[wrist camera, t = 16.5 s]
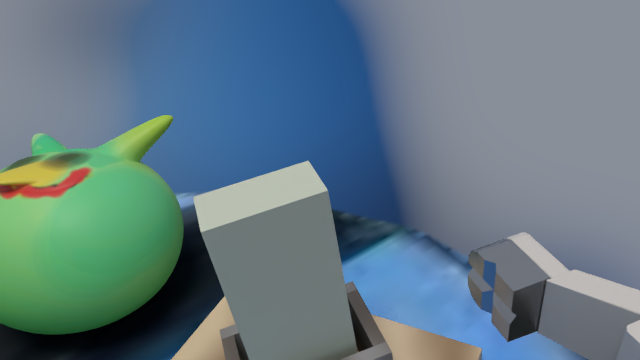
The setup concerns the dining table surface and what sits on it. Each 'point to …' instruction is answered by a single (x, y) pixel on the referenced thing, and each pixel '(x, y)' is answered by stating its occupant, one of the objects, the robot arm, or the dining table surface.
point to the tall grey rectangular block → (280, 265)
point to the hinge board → (388, 328)
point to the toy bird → (85, 233)
